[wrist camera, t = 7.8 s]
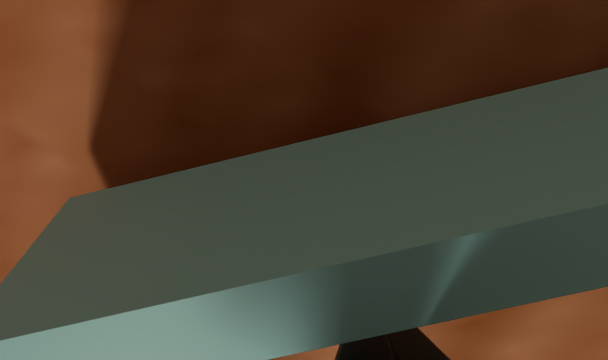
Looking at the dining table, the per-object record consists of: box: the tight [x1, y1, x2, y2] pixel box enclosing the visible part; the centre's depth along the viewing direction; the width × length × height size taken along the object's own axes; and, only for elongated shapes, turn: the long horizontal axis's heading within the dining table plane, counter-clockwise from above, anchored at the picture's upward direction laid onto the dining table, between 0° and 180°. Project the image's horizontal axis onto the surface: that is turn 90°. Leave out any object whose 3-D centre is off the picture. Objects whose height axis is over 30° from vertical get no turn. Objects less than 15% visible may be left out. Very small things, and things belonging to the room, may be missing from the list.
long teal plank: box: [0, 68, 608, 360], centre depth 8 cm, size 14×1×4 cm, turn 104°
